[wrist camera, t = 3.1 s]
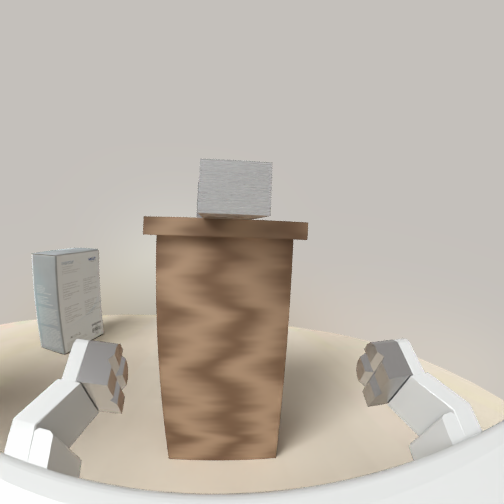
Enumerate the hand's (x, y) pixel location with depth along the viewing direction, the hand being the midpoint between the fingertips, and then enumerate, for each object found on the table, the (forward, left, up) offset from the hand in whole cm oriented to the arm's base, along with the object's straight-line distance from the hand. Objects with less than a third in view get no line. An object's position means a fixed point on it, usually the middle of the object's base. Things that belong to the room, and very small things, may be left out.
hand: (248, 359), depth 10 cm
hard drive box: (-32, +52, -21) cm, 65 cm away
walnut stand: (0, +23, -21) cm, 32 cm away
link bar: (0, +19, +5) cm, 20 cm away
